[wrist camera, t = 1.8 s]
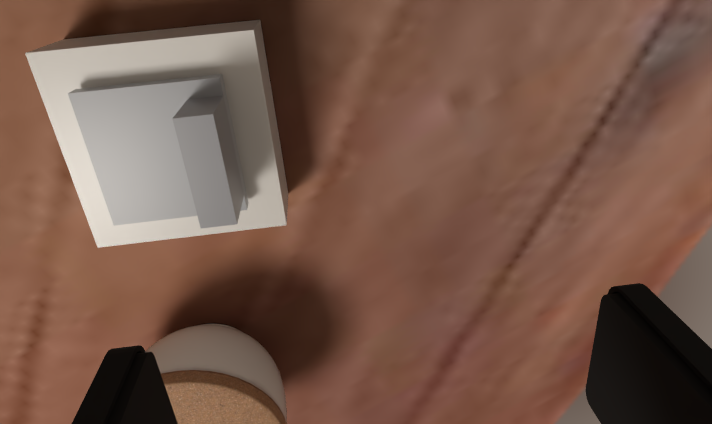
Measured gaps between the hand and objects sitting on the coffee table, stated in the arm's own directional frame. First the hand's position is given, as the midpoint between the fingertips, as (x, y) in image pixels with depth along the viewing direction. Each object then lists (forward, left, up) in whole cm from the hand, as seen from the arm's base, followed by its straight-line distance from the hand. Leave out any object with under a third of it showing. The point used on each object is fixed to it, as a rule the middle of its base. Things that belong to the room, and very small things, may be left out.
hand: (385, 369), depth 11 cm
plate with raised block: (+8, 0, -16) cm, 18 cm away
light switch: (+8, 0, -20) cm, 22 cm away
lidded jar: (+10, +17, -21) cm, 29 cm away
